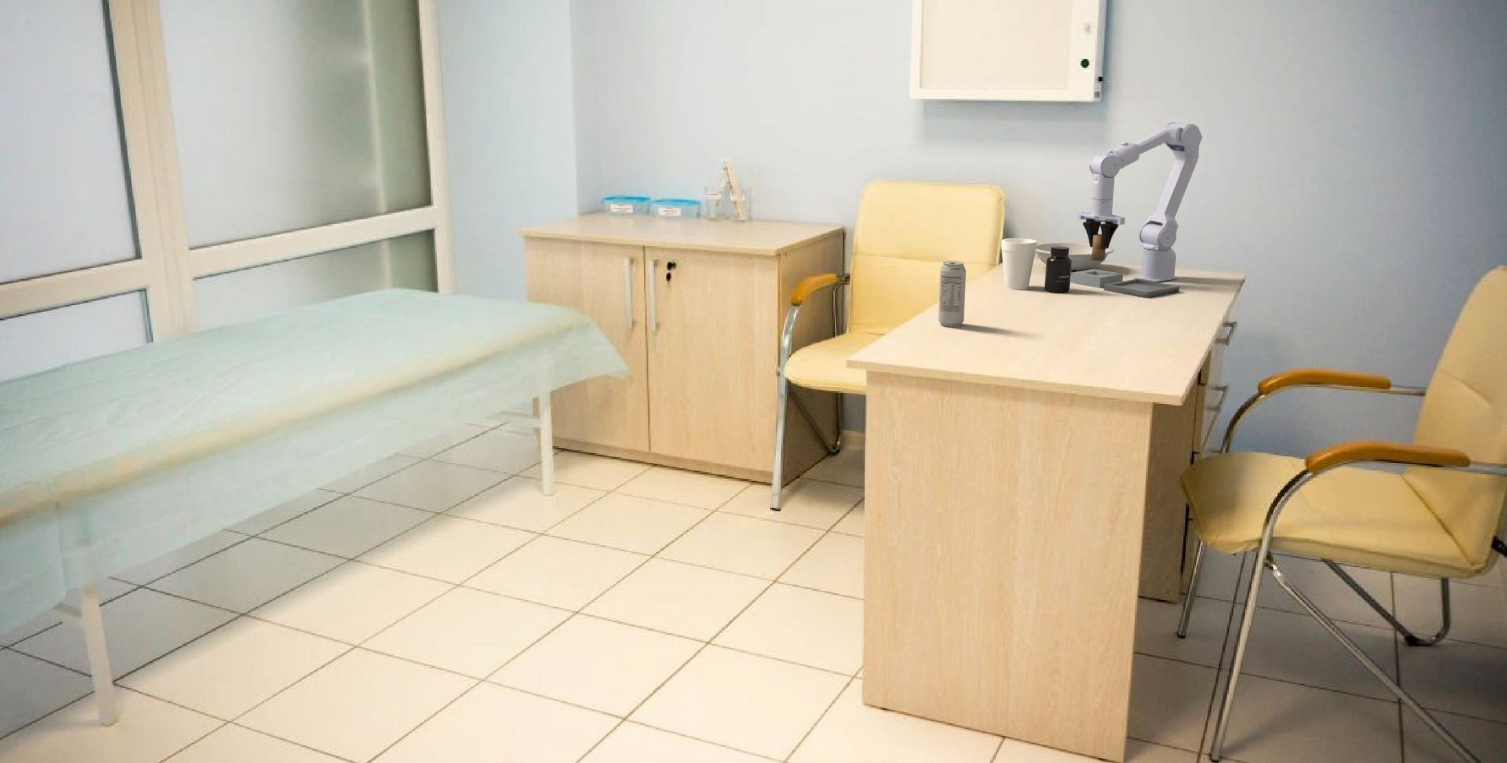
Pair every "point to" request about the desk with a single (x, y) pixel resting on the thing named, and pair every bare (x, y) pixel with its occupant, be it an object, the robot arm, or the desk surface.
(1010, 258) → the foam cup
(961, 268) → the energy drink can
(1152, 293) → the tray
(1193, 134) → the robot arm
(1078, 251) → the soup bowl
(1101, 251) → the dowel
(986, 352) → the desk surface
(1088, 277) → the square hole block
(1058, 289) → the supplement bottle
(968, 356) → the desk surface
